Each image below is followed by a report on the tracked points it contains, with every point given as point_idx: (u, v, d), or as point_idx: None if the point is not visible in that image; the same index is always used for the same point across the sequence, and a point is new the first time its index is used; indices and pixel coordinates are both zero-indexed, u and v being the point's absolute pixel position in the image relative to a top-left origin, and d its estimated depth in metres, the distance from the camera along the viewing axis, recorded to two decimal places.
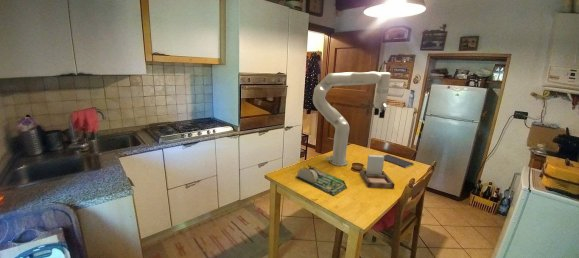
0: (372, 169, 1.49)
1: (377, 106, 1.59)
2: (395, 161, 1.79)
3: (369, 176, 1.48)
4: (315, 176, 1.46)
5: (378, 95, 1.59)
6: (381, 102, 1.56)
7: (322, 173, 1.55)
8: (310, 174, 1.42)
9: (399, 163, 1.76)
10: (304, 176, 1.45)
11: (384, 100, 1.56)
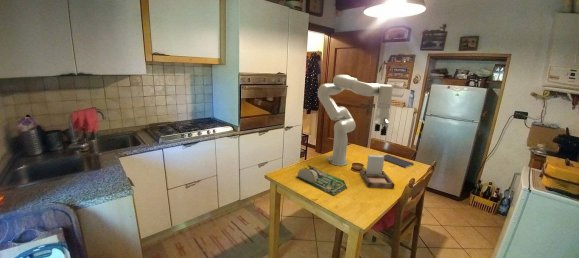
0: (372, 169, 1.49)
1: (378, 122, 1.43)
2: (395, 161, 1.79)
3: (369, 176, 1.48)
4: (315, 176, 1.46)
5: (379, 110, 1.43)
6: (383, 118, 1.40)
7: (322, 173, 1.55)
8: (310, 174, 1.42)
9: (399, 163, 1.76)
10: (304, 176, 1.45)
11: (386, 116, 1.40)
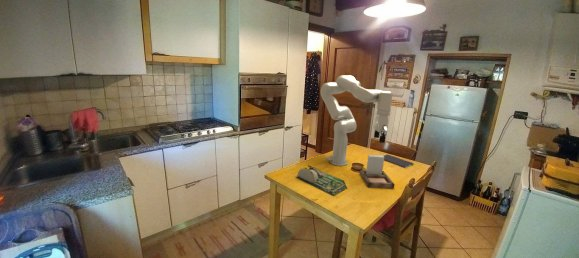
0: (372, 169, 1.49)
1: (377, 129, 1.41)
2: (395, 161, 1.79)
3: (369, 176, 1.48)
4: (315, 176, 1.46)
5: (378, 117, 1.41)
6: (381, 125, 1.38)
7: (322, 173, 1.55)
8: (310, 174, 1.42)
9: (399, 163, 1.76)
10: (304, 176, 1.45)
11: (385, 123, 1.38)
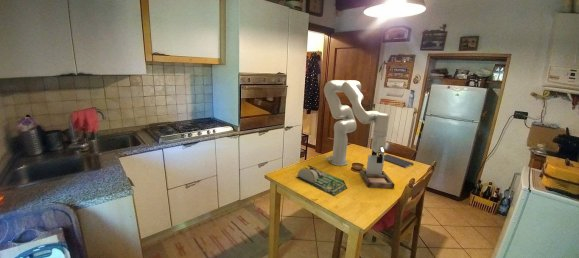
0: (372, 169, 1.49)
1: (374, 150, 1.45)
2: (395, 161, 1.79)
3: (369, 176, 1.48)
4: (315, 176, 1.46)
5: (375, 138, 1.44)
6: (378, 146, 1.41)
7: (322, 173, 1.55)
8: (310, 174, 1.42)
9: (399, 163, 1.76)
10: (304, 176, 1.45)
11: (382, 144, 1.41)
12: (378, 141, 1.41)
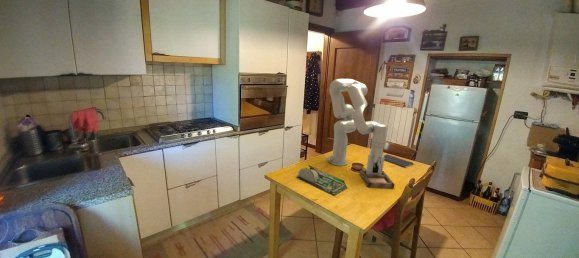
0: (372, 169, 1.49)
1: (372, 160, 1.47)
2: (395, 161, 1.79)
3: (369, 176, 1.48)
4: (316, 176, 1.46)
5: (373, 148, 1.46)
6: (376, 157, 1.43)
7: (323, 173, 1.55)
8: (311, 174, 1.43)
9: (399, 163, 1.76)
10: (305, 176, 1.45)
11: (380, 155, 1.43)
12: (376, 152, 1.43)
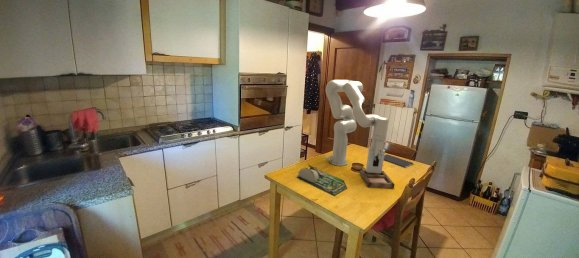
0: None
1: (373, 153, 1.46)
2: (395, 161, 1.79)
3: (369, 176, 1.48)
4: (316, 176, 1.46)
5: (374, 141, 1.45)
6: (377, 150, 1.42)
7: (323, 173, 1.55)
8: (311, 174, 1.43)
9: (399, 163, 1.76)
10: (305, 176, 1.46)
11: (380, 148, 1.42)
12: (377, 145, 1.42)
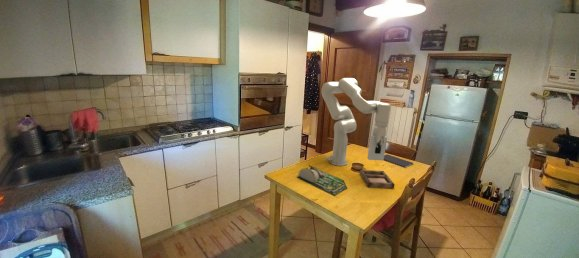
0: (374, 149, 1.46)
1: (375, 140, 1.44)
2: (395, 161, 1.79)
3: (369, 176, 1.48)
4: (316, 176, 1.46)
5: (376, 128, 1.43)
6: (379, 136, 1.40)
7: (323, 173, 1.55)
8: (311, 174, 1.43)
9: (399, 163, 1.76)
10: (305, 176, 1.46)
11: (383, 134, 1.40)
12: (379, 131, 1.40)
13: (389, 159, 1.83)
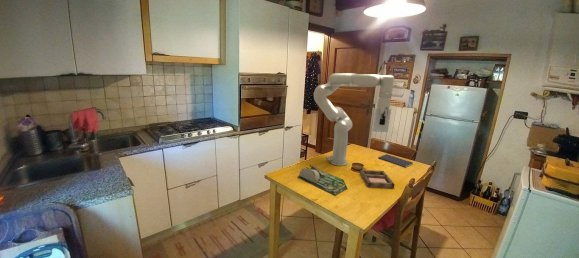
0: (379, 121, 1.52)
1: (379, 111, 1.50)
2: (395, 161, 1.80)
3: (369, 176, 1.48)
4: (317, 176, 1.47)
5: (380, 100, 1.49)
6: (384, 107, 1.46)
7: (324, 173, 1.56)
8: (312, 174, 1.43)
9: (399, 163, 1.76)
10: (306, 176, 1.46)
11: (387, 105, 1.46)
12: (383, 102, 1.46)
13: (389, 159, 1.83)
